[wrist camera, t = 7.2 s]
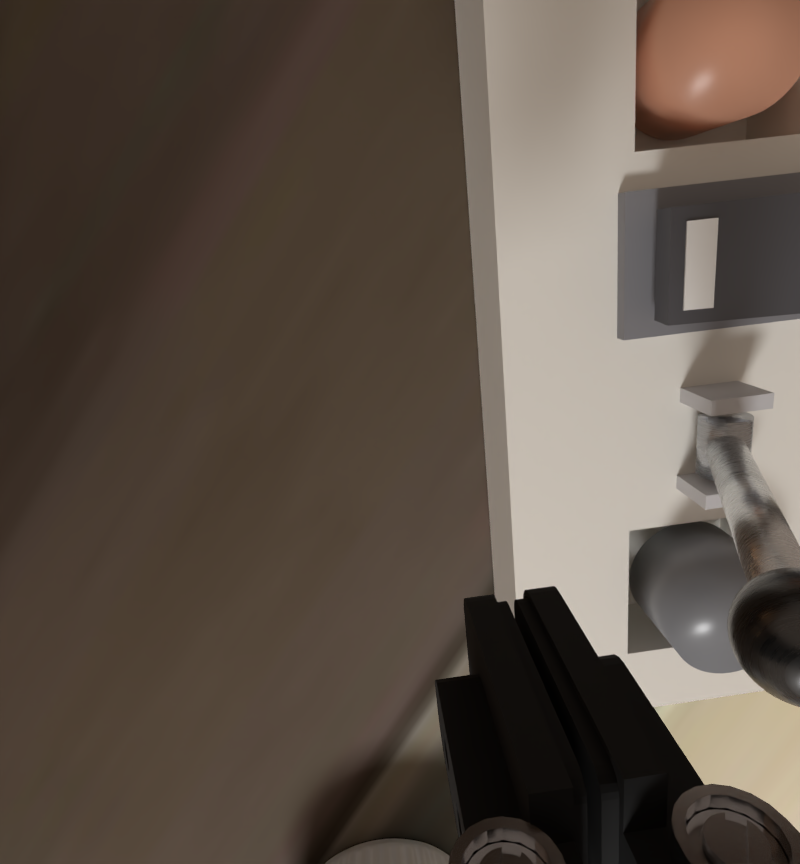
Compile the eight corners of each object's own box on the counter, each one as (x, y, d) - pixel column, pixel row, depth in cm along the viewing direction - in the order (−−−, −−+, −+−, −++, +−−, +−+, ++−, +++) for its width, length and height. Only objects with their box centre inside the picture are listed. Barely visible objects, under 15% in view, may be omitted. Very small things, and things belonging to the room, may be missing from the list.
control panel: (448, -96, 18) (488, -246, 13) (870, -134, 19) (1085, -295, 13) (499, 659, 27) (536, 764, 22) (786, 618, 28) (894, 709, 22)
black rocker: (657, 209, 17) (672, 207, 16) (851, 186, 16) (883, 182, 15) (654, 320, 18) (668, 325, 16) (837, 303, 17) (866, 307, 16)
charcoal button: (629, 528, 22) (674, 573, 19) (741, 513, 22) (802, 554, 19) (628, 625, 23) (669, 681, 20) (733, 611, 24) (789, 663, 21)
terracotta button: (613, -6, 18) (666, -59, 15) (749, -20, 18) (828, -74, 15) (613, 147, 19) (661, 127, 16) (739, 133, 20) (809, 111, 17)
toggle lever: (682, 403, 20) (743, 610, 9) (763, 403, 19) (931, 630, 8) (680, 468, 21) (734, 728, 10) (757, 470, 20) (906, 757, 9)
